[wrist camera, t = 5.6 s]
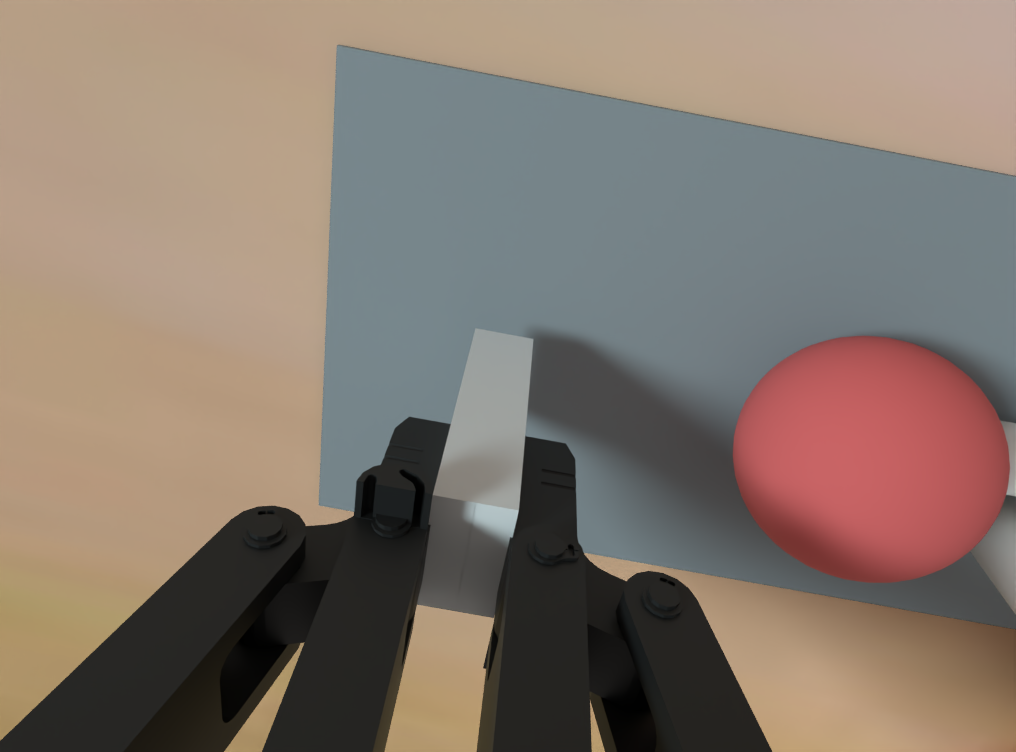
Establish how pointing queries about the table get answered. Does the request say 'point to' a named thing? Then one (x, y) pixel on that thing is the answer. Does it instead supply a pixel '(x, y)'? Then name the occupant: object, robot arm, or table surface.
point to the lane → (641, 294)
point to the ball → (871, 459)
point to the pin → (1001, 552)
